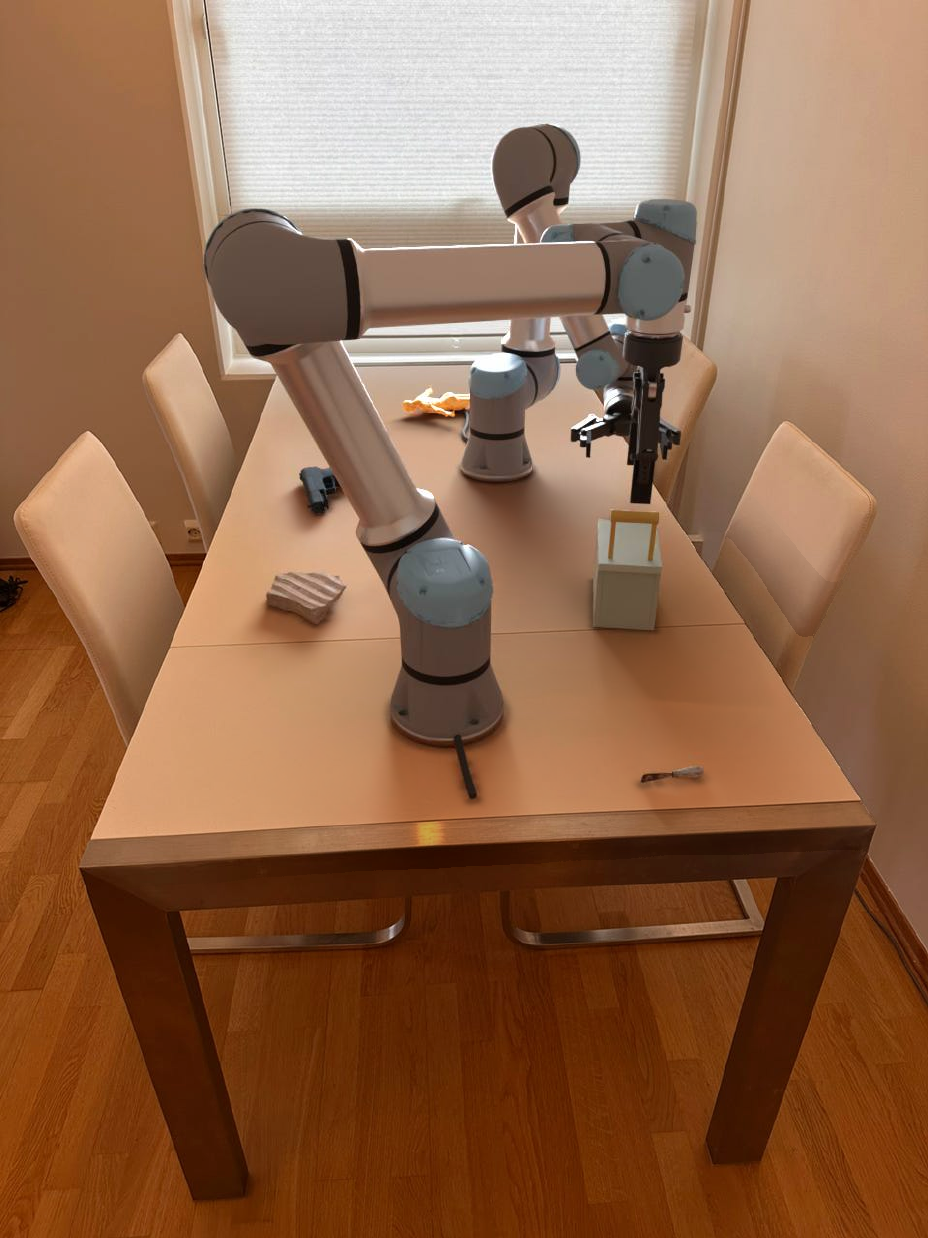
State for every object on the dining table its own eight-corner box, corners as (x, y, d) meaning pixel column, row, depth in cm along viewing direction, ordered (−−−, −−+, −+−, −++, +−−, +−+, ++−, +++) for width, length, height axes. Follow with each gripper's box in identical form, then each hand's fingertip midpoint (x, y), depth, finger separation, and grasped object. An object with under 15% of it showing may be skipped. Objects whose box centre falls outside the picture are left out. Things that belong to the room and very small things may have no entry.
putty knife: (703, 777, 109) (705, 767, 109) (642, 788, 108) (644, 777, 107) (700, 772, 110) (702, 762, 109) (639, 782, 109) (640, 771, 108)
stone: (356, 590, 149) (354, 577, 147) (319, 626, 139) (317, 612, 138) (289, 576, 153) (287, 563, 152) (249, 610, 144) (247, 596, 142)
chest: (653, 630, 138) (661, 572, 133) (593, 627, 139) (598, 568, 134) (649, 584, 150) (655, 528, 145) (593, 581, 151) (597, 525, 146)
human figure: (395, 413, 223) (394, 398, 221) (438, 390, 237) (438, 375, 235) (462, 429, 215) (462, 413, 213) (502, 404, 229) (503, 388, 227)
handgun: (369, 509, 176) (308, 516, 174) (354, 474, 190) (298, 480, 188) (368, 494, 174) (307, 501, 172) (353, 460, 189) (296, 466, 186)
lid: (661, 574, 132) (668, 518, 127) (598, 570, 133) (602, 515, 128) (655, 528, 145) (662, 476, 140) (597, 525, 146) (602, 474, 141)
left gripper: (692, 358, 105) (671, 522, 116) (675, 309, 126) (659, 451, 137) (628, 357, 106) (613, 519, 117) (622, 308, 127) (610, 449, 138)
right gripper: (685, 432, 178) (695, 473, 160) (559, 429, 181) (556, 468, 163) (689, 395, 174) (700, 433, 156) (561, 392, 177) (557, 429, 159)
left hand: (638, 483), depth 127 cm, fingers open, 13 cm apart
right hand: (626, 451), depth 160 cm, fingers open, 13 cm apart
